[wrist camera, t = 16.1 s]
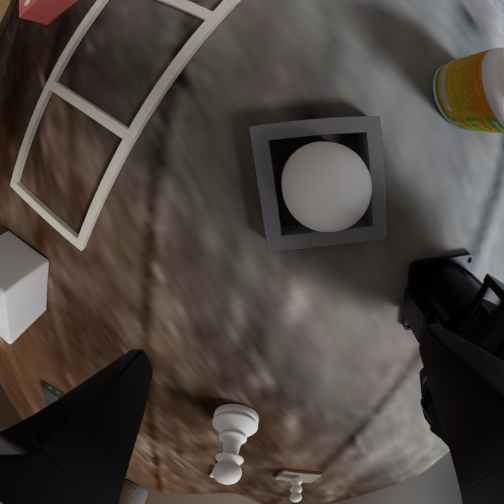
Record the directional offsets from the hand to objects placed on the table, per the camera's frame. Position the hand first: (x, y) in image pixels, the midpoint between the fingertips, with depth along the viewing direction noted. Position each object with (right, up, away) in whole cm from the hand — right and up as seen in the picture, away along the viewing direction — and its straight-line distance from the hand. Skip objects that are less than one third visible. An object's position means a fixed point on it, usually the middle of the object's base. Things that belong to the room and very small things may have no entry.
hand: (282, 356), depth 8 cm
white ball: (+4, +8, +10) cm, 13 cm away
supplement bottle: (+15, +15, +7) cm, 22 cm away
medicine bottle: (-25, +1, +16) cm, 30 cm away
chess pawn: (-3, -15, +21) cm, 26 cm away
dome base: (+4, +8, +11) cm, 14 cm away
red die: (-18, +26, +5) cm, 32 cm away
